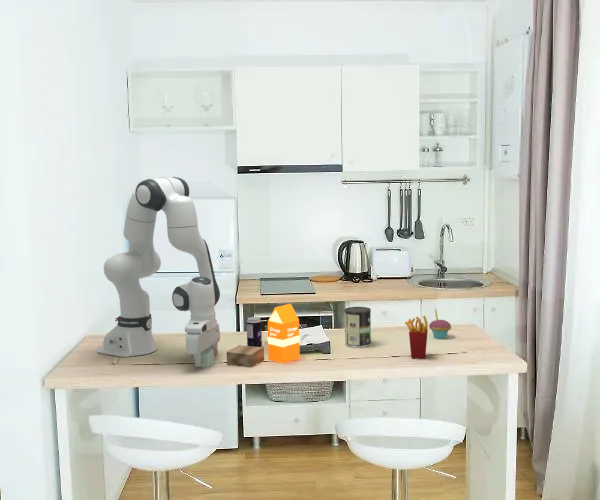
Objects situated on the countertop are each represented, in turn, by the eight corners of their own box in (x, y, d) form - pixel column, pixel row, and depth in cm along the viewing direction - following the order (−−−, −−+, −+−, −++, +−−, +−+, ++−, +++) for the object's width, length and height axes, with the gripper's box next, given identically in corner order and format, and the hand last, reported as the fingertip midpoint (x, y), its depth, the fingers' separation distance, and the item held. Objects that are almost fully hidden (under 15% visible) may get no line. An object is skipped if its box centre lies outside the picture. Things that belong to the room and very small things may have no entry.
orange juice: (268, 359, 281) (266, 306, 278) (285, 354, 287) (283, 302, 284) (283, 363, 276) (282, 309, 273) (300, 357, 282) (299, 304, 279)
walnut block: (227, 365, 275) (226, 352, 275) (240, 358, 285) (239, 345, 284) (251, 368, 271) (251, 354, 271) (264, 360, 280) (263, 347, 280)
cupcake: (429, 339, 303) (429, 310, 302) (429, 334, 312) (429, 305, 310) (451, 340, 302) (451, 310, 300) (450, 334, 310) (450, 305, 309)
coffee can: (370, 340, 304) (369, 306, 302) (372, 347, 294) (371, 311, 292) (344, 341, 304) (343, 306, 302) (345, 348, 294) (344, 312, 292)
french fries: (427, 359, 276) (427, 319, 274) (404, 358, 278) (404, 318, 276) (428, 353, 284) (428, 313, 282) (406, 352, 286) (406, 313, 284)
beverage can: (260, 350, 293) (259, 320, 291) (245, 350, 294) (244, 319, 292) (263, 346, 298) (262, 316, 297) (249, 346, 299) (248, 316, 298)
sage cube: (195, 366, 274) (195, 353, 274) (201, 362, 279) (201, 349, 278) (208, 367, 273) (207, 354, 272) (214, 363, 277) (213, 350, 277)
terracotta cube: (203, 356, 287) (202, 343, 286) (204, 353, 292) (204, 340, 291) (216, 356, 287) (216, 343, 286) (218, 352, 292) (217, 340, 291)
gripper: (208, 315, 284) (209, 351, 286) (182, 328, 265) (183, 367, 267) (223, 316, 282) (225, 353, 284) (198, 329, 263) (200, 368, 265)
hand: (204, 360), depth 275 cm, fingers open, 8 cm apart
